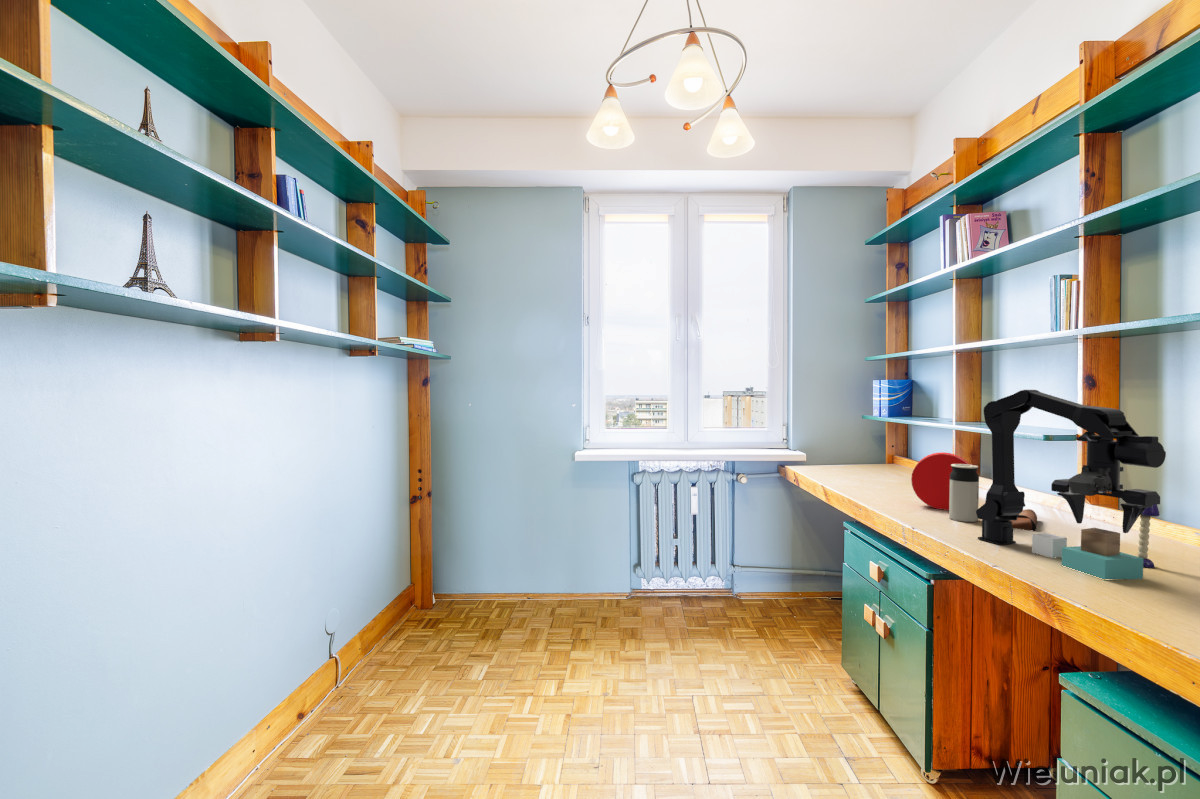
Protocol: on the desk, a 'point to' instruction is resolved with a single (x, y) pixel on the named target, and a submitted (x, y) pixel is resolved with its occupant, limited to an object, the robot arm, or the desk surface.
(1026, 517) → the sunglasses case
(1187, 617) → the desk surface
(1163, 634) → the desk surface
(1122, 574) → the teal base block
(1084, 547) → the walnut cube
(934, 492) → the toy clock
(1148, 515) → the toy lamp
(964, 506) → the travel mug
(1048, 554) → the grey cube
